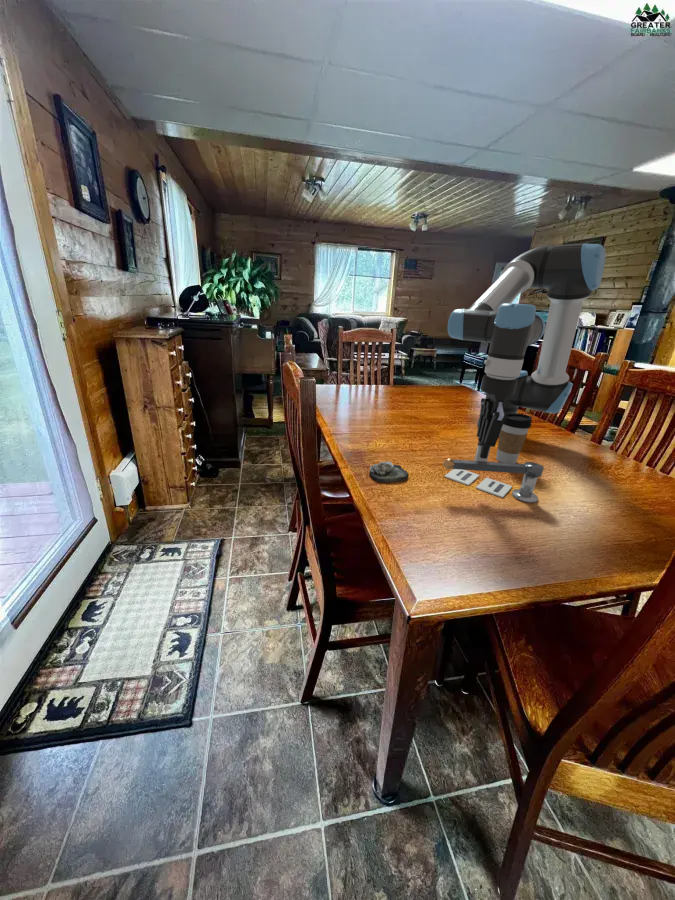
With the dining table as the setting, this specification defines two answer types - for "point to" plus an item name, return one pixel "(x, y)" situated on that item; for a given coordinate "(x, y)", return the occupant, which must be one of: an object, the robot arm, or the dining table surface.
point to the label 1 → (462, 476)
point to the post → (526, 490)
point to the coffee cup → (512, 437)
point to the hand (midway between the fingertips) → (479, 467)
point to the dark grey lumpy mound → (387, 472)
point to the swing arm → (495, 466)
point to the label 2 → (494, 487)
